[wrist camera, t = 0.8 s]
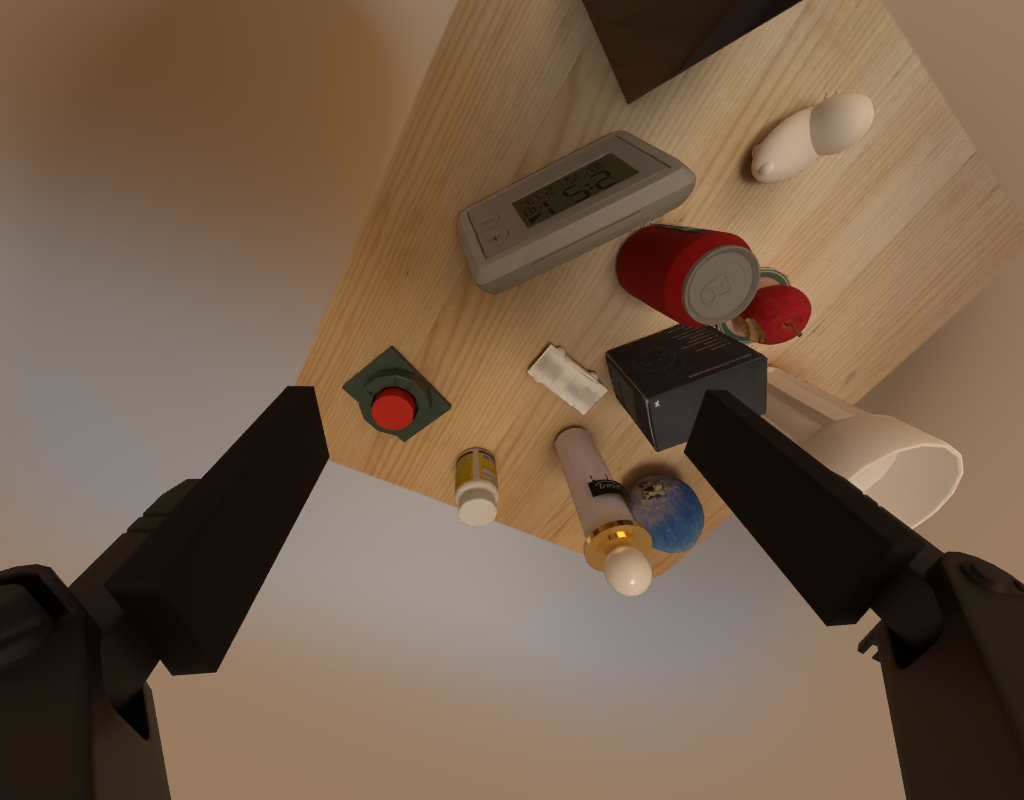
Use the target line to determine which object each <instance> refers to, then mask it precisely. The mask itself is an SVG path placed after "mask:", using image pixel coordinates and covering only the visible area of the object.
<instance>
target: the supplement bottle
mask: <svg viewBox="0 0 1024 800" xmlns="http://www.w3.org/2000/svg"><path fill="white" fill-rule="evenodd" d="M498 498H499V491H498V482H497V474H496V466H495V460H494V457H493V456H492V454H491V453H489V452H488V451H486V450H484V449H480V448H474V449H469V450H466V451H464V452H463V453H462V454H461V455H460V456H459V457H458V459H457V462H456V482H455V501H456V504H457V506H458V515H459V518H460V520H461V521H462V522H463V523H464V524H466V525H468V526H471V527H482V526H485V525H488V524H489V523H491V522H492V521H493V520H494V519H495V517H496V514H497V502H498Z"/></svg>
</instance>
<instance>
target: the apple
mask: <svg viewBox="0 0 1024 800" xmlns="http://www.w3.org/2000/svg"><path fill="white" fill-rule="evenodd" d="M760 272H761V275H760V283H759V287H758V289H757V292H756V294H755V296H754V298H753V299H752V301H751V302H750V304H749V305H748V306H747V307H746V309H745V310H744V311H742V312H741V313H740V314H739V315H738V316H736V317H735V318H733V319H731V320H729V321H727V322H725V323H722V324H718V325H717V326H718V330H719V331H721V332H723V333H724V334H726V335H728V336H730V337H732V338H734V339H735V340H737V341H739V342H741V343H743V344H750V343H754V342H757V343H760V344H767V345H772V344H779V343H783V342H786V341H788V340H790V339H793V338H794V337H796V336H797V335H798V337H800V336H802V333H801V331H802V330H803V329H804V328H805V326H806V324H807V323H808V320H809V318H810V315H811V304H810V302H809V299H808V298H807V296H806V295H805V294H804V293H803V292H801V291H800V290H798V289H796V288H794V287H792V285H791V282H790V280H789V278H788V277H787V276H786V275H785V274H784V273H783V272H781V271H779V270H777V269H773V268H761V269H760Z"/></svg>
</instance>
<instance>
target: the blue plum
mask: <svg viewBox="0 0 1024 800" xmlns="http://www.w3.org/2000/svg"><path fill="white" fill-rule="evenodd" d="M639 469H641V468H639ZM629 497H630V499H631V500H632V501H631V500H629V499H628V501H629V502H630V503H629V502H628V501H627V507H628V509H629V511H630V513H631V515H632V517H633V519H634V521H636V522H639V523H641V524H642V525H643V526H645V527H646V529H647V530H648V532H649V534H650V536H651V538H652V547H653V548H655V549H657V550H660V551H664V552H668V553H679V552H684V551H687V550H688V549H690V548H691V547H692V546H694V545H695V543H696V542H697V540H698V538H699V537H700V535H701V532H702V529H703V526H704V514H703V509H702V506H701V504H700V501H699V499H698V497H697V496H696V494H695V493H694V491H693V490H692V488H690V486H688V485H687V484H686V483H684V482H683V481H681V480H679V479H677V478H675V477H673V476H669V475H650V476H646V477H644V478H641V479H640V480H639V481H638V482H637V483H636V484H635V485H634V487H633V488H632V490H631V492H630V495H629ZM631 502H633V504H634V505H633V504H632V503H631ZM634 506H635V507H634ZM636 510H637V511H636ZM639 518H640V519H639Z"/></svg>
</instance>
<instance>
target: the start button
mask: <svg viewBox="0 0 1024 800" xmlns="http://www.w3.org/2000/svg"><path fill="white" fill-rule="evenodd" d="M415 407H416V405H415V401H414V399H413V397H412V396H411V395H410V394H409V393H408V392H407V391H405V390H403V389H400V388H388V389H385V390H383V391H382V392H380V393H379V394H378V396H377V398H376V400H375V402H374V404H373V407H372V416H373V418H374V420H375V421H376V423H377V424H379V425H380V426H381V427H383V428H385V429H389V430H400V429H403V428H405V427H407V426H408V425H409V424H410V423H411V421H412V419H413V416H414V412H415Z"/></svg>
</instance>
